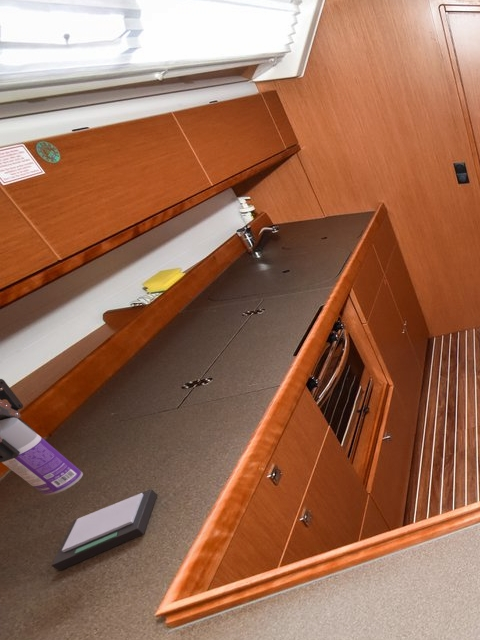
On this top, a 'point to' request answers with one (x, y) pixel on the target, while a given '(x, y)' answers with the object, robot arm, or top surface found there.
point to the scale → (105, 529)
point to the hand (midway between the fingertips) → (17, 447)
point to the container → (37, 459)
